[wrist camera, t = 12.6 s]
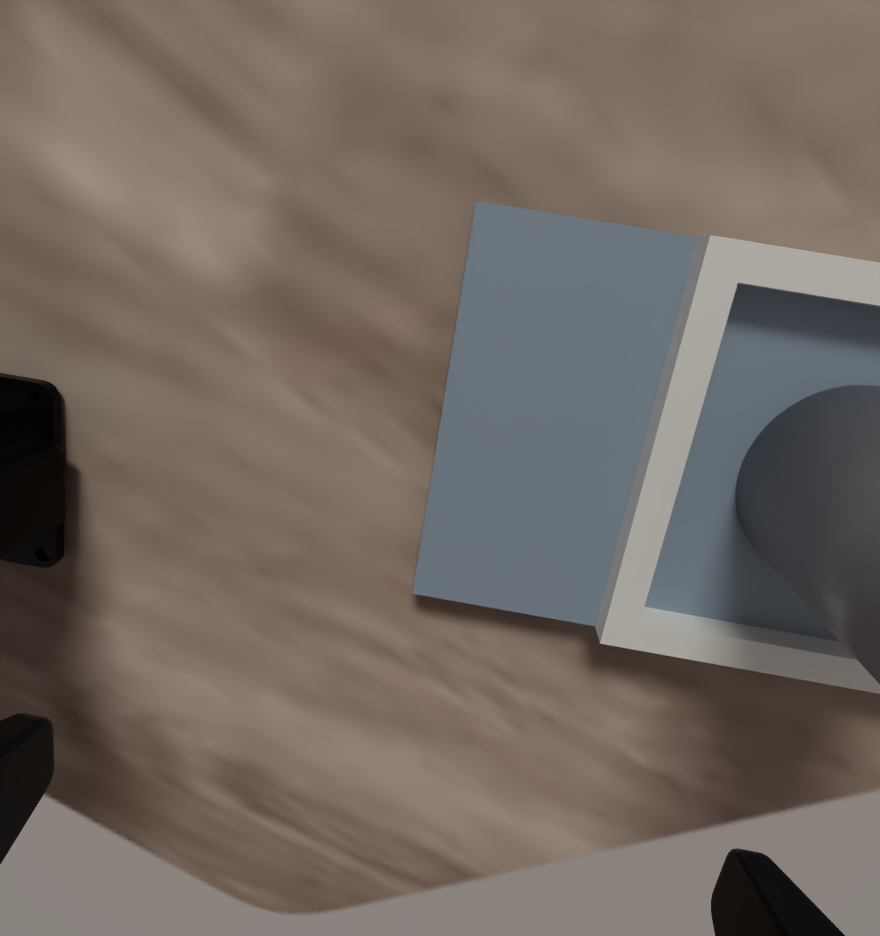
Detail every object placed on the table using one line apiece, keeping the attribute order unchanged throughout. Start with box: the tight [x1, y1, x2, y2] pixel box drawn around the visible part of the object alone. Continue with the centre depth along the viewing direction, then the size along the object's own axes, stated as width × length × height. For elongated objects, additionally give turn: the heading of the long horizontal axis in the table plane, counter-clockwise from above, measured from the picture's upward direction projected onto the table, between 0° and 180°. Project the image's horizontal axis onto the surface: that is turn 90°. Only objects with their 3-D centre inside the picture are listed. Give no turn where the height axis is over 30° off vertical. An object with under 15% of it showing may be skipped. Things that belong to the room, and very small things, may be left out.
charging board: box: [412, 201, 880, 694], centre depth 19 cm, size 18×12×2 cm, turn 81°
